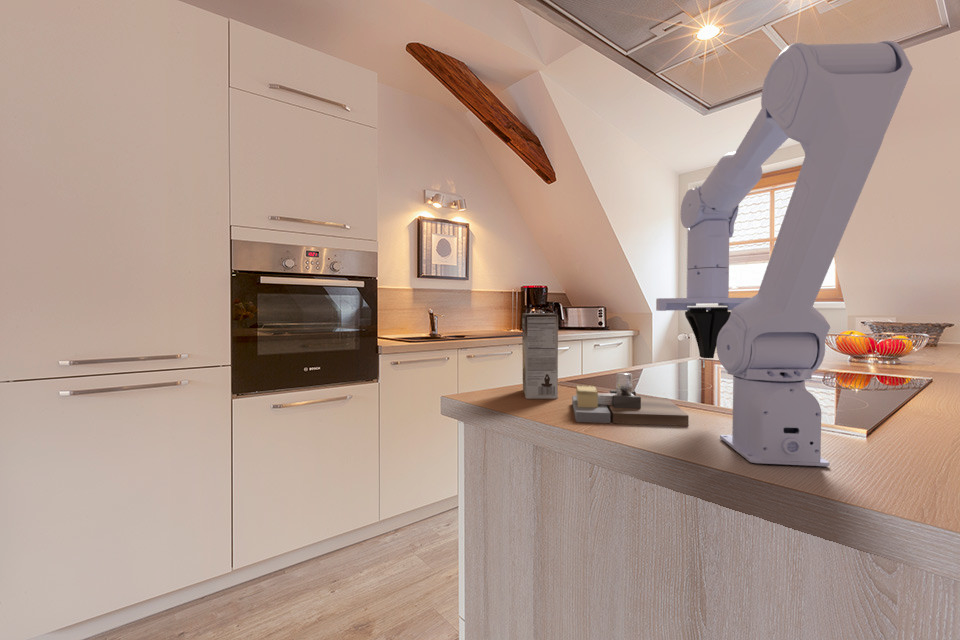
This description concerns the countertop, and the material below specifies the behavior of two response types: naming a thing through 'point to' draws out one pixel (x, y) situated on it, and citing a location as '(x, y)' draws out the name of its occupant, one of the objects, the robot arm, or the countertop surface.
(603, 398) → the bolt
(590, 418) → the jamb keeper
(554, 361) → the coffee box
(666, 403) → the door panel
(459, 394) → the countertop surface
